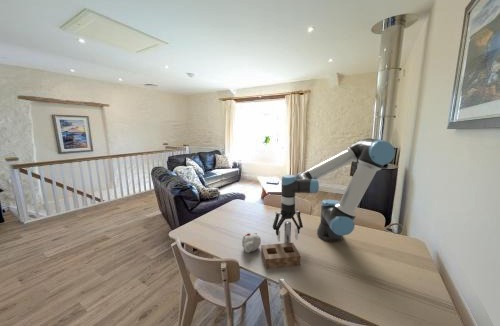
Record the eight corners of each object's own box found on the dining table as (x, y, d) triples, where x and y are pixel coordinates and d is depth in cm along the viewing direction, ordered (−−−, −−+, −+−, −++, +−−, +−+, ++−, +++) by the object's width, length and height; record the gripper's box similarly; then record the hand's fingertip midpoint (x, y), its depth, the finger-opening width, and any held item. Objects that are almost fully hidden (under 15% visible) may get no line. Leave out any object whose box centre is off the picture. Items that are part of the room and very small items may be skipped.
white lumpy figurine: (246, 257, 108) (238, 245, 122) (265, 252, 112) (255, 241, 126) (245, 241, 107) (237, 230, 121) (264, 236, 111) (254, 227, 125)
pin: (289, 244, 120) (289, 221, 117) (291, 248, 116) (291, 224, 113) (283, 245, 119) (283, 221, 116) (285, 248, 116) (285, 224, 113)
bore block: (292, 250, 114) (293, 242, 113) (300, 264, 102) (300, 256, 101) (261, 253, 112) (261, 245, 111) (265, 268, 100) (265, 259, 99)
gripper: (304, 199, 117) (303, 234, 122) (267, 201, 115) (267, 237, 119) (310, 204, 110) (308, 241, 114) (269, 206, 108) (269, 244, 112)
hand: (287, 239), depth 117 cm, fingers open, 10 cm apart
